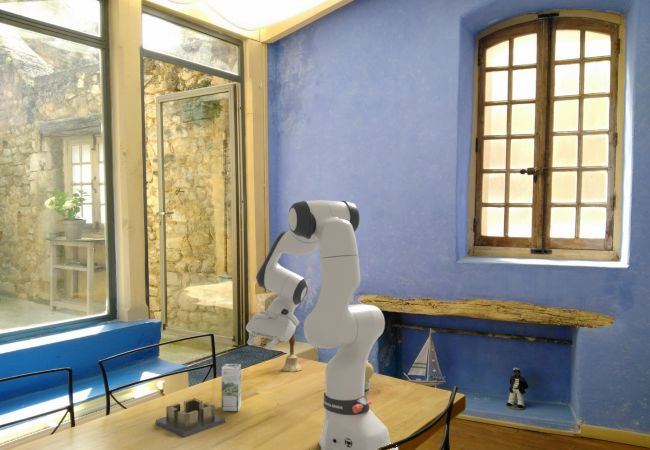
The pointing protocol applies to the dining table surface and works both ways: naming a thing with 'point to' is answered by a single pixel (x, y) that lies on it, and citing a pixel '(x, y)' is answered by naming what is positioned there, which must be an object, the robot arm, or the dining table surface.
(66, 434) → the dining table surface
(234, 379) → the syrup box
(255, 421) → the dining table surface
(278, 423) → the dining table surface
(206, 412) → the metal jaw fixture
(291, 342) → the hand bell
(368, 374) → the light bulb
